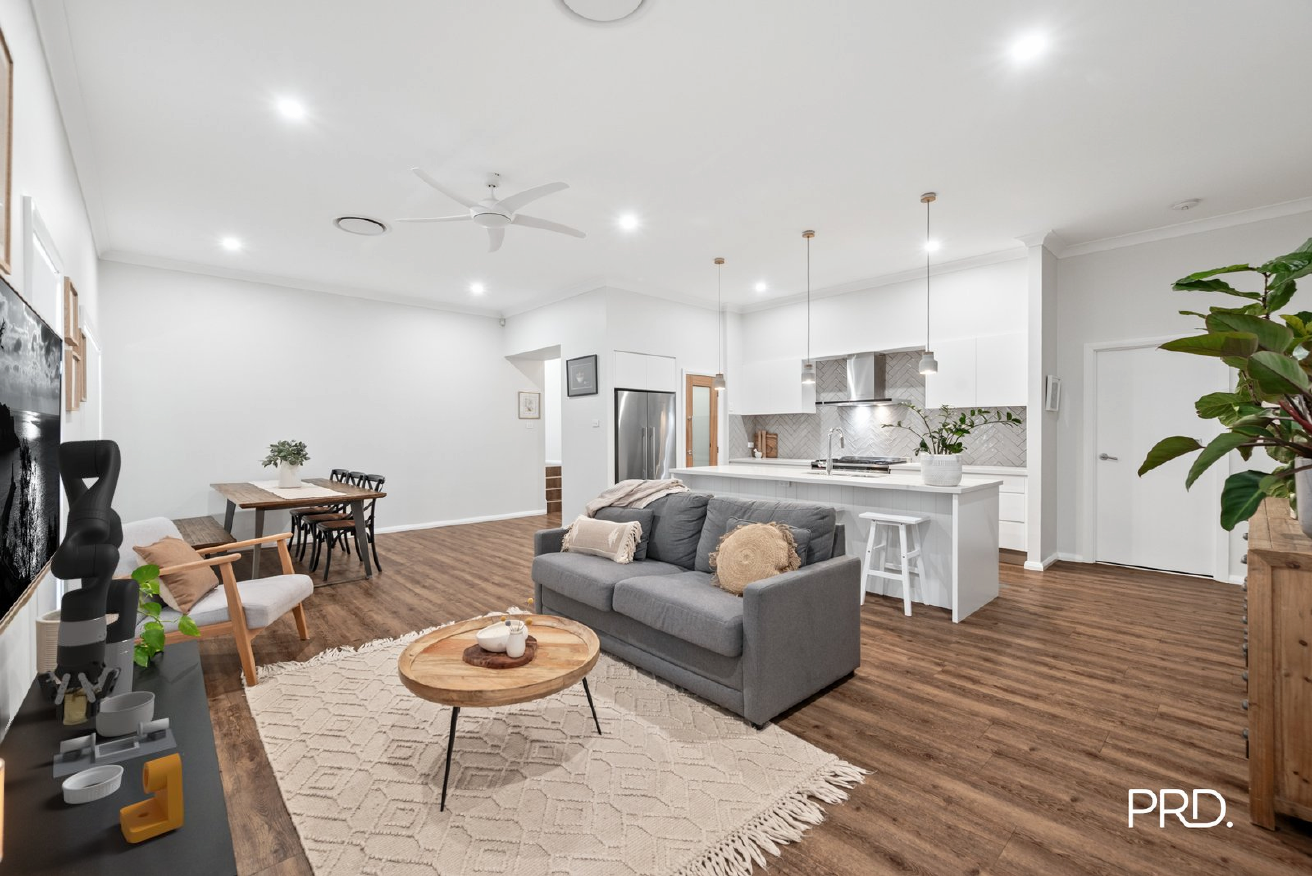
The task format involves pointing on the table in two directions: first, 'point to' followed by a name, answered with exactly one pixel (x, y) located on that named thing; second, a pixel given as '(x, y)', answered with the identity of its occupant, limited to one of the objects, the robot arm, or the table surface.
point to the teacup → (124, 713)
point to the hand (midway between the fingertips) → (78, 718)
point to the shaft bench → (112, 748)
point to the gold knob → (75, 707)
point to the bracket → (156, 801)
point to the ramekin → (104, 774)
